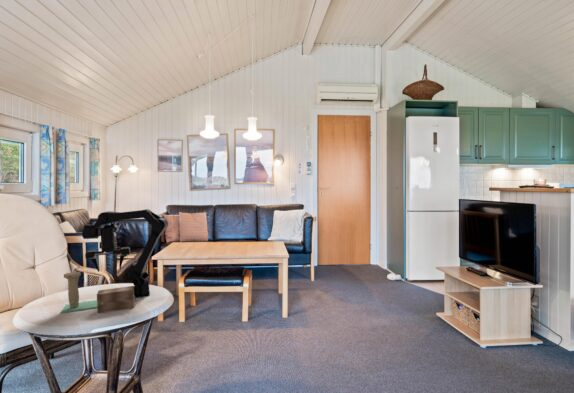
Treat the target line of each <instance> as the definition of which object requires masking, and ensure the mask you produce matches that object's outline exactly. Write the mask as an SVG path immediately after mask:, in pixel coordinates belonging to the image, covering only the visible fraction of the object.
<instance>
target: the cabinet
mask: <svg viewBox="0 0 574 393" xmlns="http://www.w3.org/2000/svg"><path fill="white" fill-rule="evenodd" d="M134 286H135V285H129V286H123V287H115V288H108V289H106V288H105V289H99V290H97V293H96V300H97V307H98V308H97V313H98V314H100V313H101V314H102V313H107V312H114V311H122V310H127V309H133V308H135V296H134Z"/></svg>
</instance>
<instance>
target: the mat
mask: <svg viewBox="0 0 574 393" xmlns="http://www.w3.org/2000/svg"><path fill="white" fill-rule="evenodd" d="M92 309H98V307H97V299H96V300H90V301H79V306H78V307H76V308H70V304H69V303H68V304H65V305H64V307H63V308H62V309H61V310H60V314H65V313H67V314H68V313H72V312H73V313H74V312H80V311H87V310H92Z"/></svg>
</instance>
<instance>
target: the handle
mask: <svg viewBox="0 0 574 393" xmlns="http://www.w3.org/2000/svg"><path fill="white" fill-rule="evenodd" d="M81 274H82V273H81V271H73V272H66V273H64V274H63V278H64V279H67V289H68V291H67V296H68V304H70V308H76V307H78V306H79V303H80V294H79V293H80V292H79V291H80V290H79V286H78V278H79V277H80V276H82V275H81Z"/></svg>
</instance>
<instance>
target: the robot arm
mask: <svg viewBox="0 0 574 393" xmlns="http://www.w3.org/2000/svg"><path fill="white" fill-rule="evenodd" d="M136 219H144V220H145V221H146V222H147V223H148V224H149V225H151V228H150V235H149V238H148V240H147V242H146V244H145V246H144V247H143V250H142V252H141V254H140V256H139V258H138V261H135V262H133V263H132V264H131V265H130V268H129V270H128V271H127V272H128V279H129V280H130V281H131V282H132V284H133V286H134V299H135V298H142V297H149V296H151V295H150V294H151V292H150V279H151V275H150V274H149V273H148V272H147V267H148V261H149V259H150V258H151V256H152V253H153V251H154V249H155V248H156V245H157V243H158V241H159V239H160V237H161V235H163V233H164V232H165V231H166V229H167V228H168V226H169V222H168V220H167V219H166V218H163V217H161V216H160V215H158V214H156V213H155V212H154V211H152V210H151V209H149V208H146V209H140V210H131V211H122V212H121V211H110V210H109V211H104V212H100V213H99V214H98V216H97V219H96V221H95V223H94V224H84V226H83V229H82V232H81V235H82V238H83V240H90V239H92V240H93V239H95V240H96V239H99V237H100V241H99V249H100V250H99V251H97V249H93V250H92V249H90V250H87V251H86V252H85V254H84V257H85V259H87V260H89V261H91V262H92V263H93V265H94V266H95V269H96V270H97V272H98V273H99V272H100V266H99V259H98V256H106V255H115V254H117V255H118V254H120V256H119V266H118V267H119V270H121V269H122V265H123V262H124V259H125V257H128V255H130V254H131V248H130V246H123V247H120V249H117V248H116V242H115V241H116V240H115V229H118V228H119V225H117V224H116V223H115V222H119V221H127V220H128V221H129V220H136Z"/></svg>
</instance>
